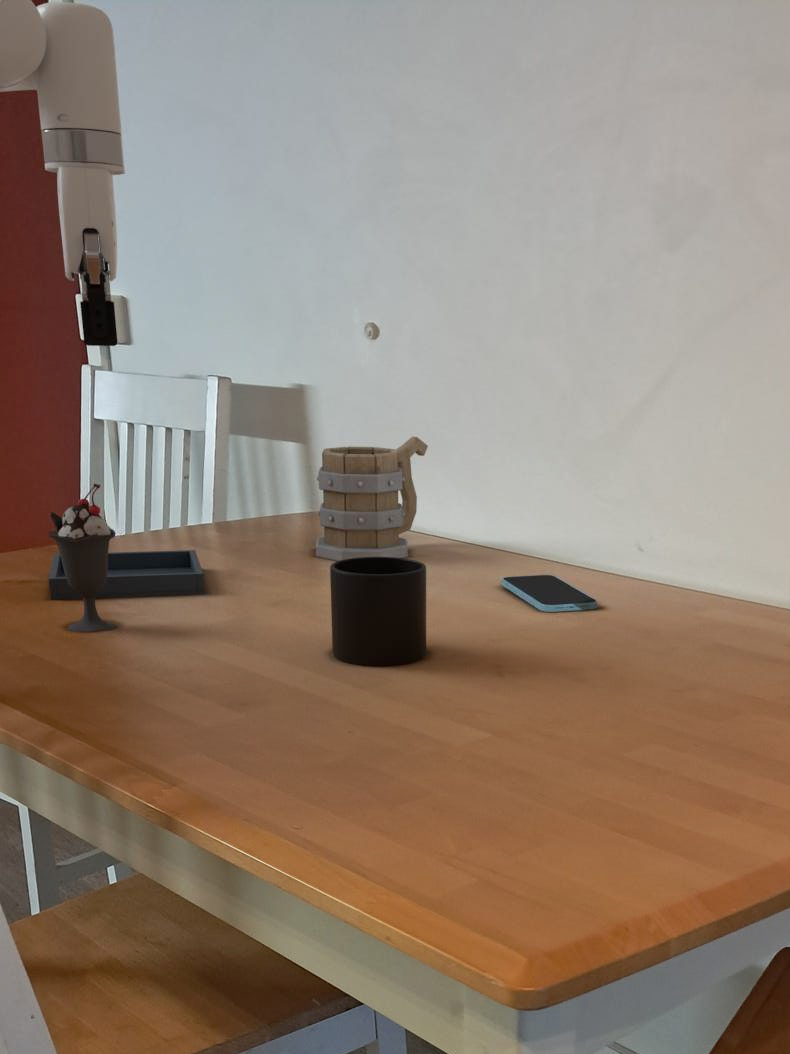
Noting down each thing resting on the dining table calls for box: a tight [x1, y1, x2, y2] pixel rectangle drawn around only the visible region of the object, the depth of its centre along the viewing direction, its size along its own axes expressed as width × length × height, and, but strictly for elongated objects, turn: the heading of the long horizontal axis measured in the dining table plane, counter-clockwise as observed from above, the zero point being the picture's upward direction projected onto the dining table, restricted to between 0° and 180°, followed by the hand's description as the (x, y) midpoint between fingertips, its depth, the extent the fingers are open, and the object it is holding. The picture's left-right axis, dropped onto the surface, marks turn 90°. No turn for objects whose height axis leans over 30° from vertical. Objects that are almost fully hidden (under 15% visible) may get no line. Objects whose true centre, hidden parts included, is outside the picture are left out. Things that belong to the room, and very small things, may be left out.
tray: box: [48, 549, 206, 601], centre depth 157 cm, size 18×16×3 cm
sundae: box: [47, 483, 116, 633], centre depth 134 cm, size 7×7×15 cm
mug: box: [329, 557, 427, 667], centre depth 128 cm, size 9×12×9 cm
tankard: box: [315, 436, 429, 562], centre depth 178 cm, size 20×13×15 cm, turn 139°
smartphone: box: [501, 574, 598, 613], centre depth 154 cm, size 7×1×15 cm
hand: (101, 343), depth 131 cm, fingers open, 9 cm apart
